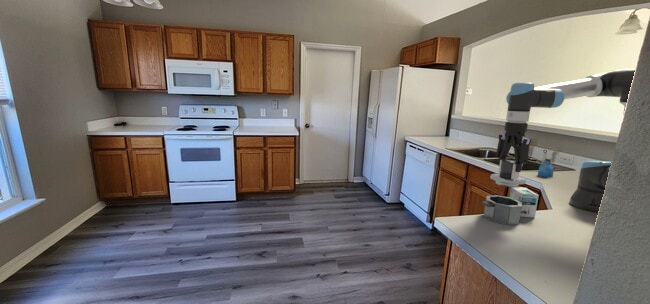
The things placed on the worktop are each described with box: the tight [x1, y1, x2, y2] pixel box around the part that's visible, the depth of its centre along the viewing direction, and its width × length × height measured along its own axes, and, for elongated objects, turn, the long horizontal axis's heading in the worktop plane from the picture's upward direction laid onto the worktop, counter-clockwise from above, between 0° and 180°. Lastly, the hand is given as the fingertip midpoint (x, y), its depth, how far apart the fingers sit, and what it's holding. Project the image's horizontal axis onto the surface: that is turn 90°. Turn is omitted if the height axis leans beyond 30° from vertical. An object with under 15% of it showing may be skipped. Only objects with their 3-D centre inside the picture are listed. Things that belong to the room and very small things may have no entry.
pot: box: [481, 194, 525, 226], centre depth 117 cm, size 18×13×8 cm
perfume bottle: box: [537, 158, 555, 179], centre depth 185 cm, size 6×6×12 cm
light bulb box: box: [509, 186, 540, 219], centre depth 123 cm, size 11×7×11 cm, turn 169°
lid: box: [490, 159, 527, 188], centre depth 114 cm, size 12×12×10 cm
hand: (507, 176), depth 114 cm, fingers closed on lid, 6 cm apart
